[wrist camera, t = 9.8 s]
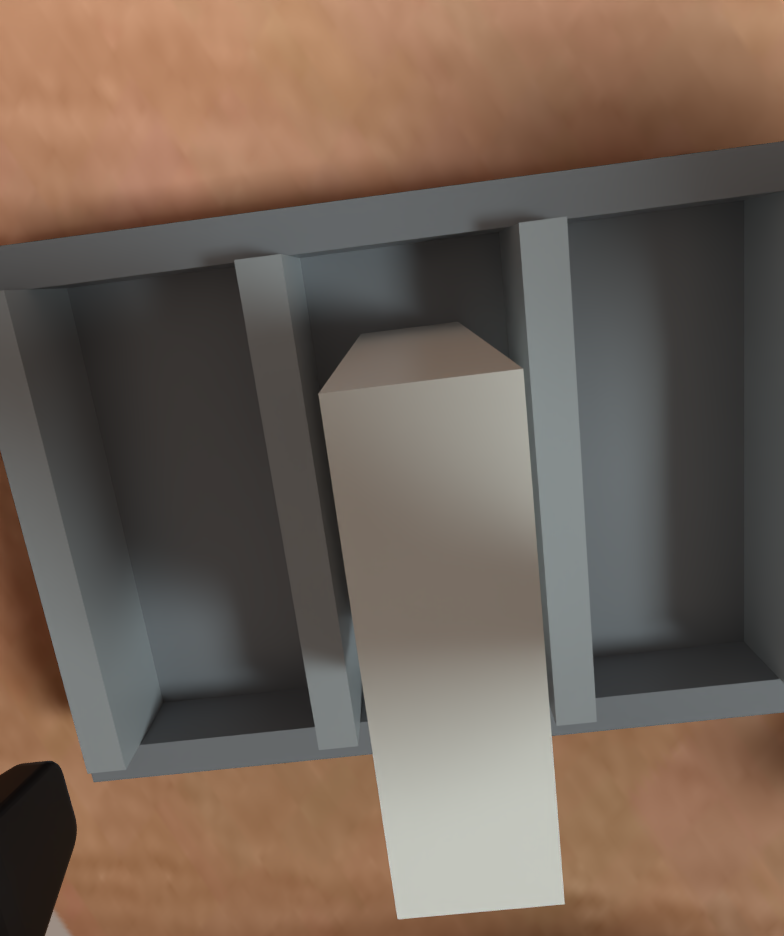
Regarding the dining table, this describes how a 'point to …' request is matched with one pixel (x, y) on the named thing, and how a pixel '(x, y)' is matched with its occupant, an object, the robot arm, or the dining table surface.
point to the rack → (307, 467)
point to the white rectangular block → (447, 615)
